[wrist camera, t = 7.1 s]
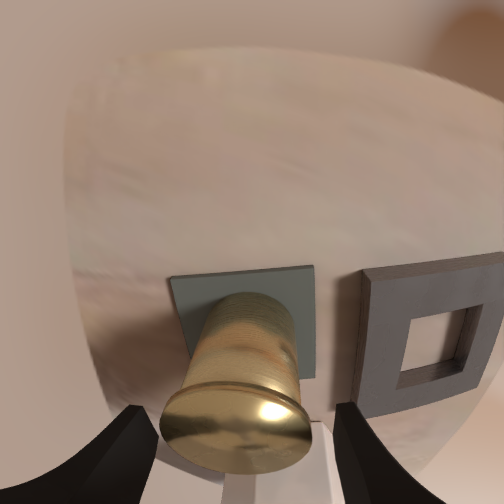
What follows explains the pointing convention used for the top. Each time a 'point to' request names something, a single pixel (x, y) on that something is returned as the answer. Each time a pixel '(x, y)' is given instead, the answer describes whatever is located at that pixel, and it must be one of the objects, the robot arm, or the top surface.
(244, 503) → the jar
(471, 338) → the housing
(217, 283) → the mat
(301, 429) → the gold rounded piece
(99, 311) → the top surface
